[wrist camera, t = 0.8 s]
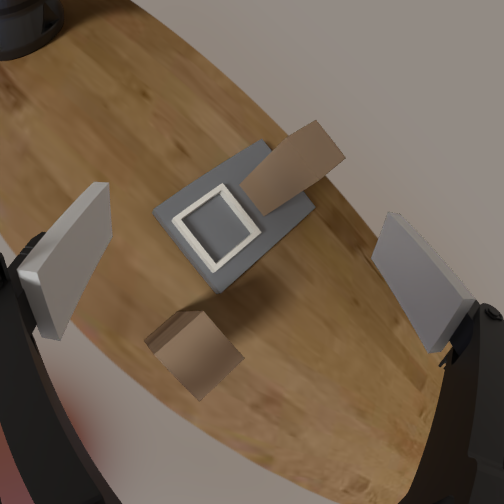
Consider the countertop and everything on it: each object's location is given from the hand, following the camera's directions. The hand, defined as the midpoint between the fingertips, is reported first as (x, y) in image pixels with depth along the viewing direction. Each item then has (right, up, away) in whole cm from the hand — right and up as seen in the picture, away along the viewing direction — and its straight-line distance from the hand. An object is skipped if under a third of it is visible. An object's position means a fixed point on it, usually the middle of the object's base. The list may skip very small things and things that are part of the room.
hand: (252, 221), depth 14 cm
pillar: (-9, -11, +19) cm, 24 cm away
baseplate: (-2, +4, +25) cm, 26 cm away
